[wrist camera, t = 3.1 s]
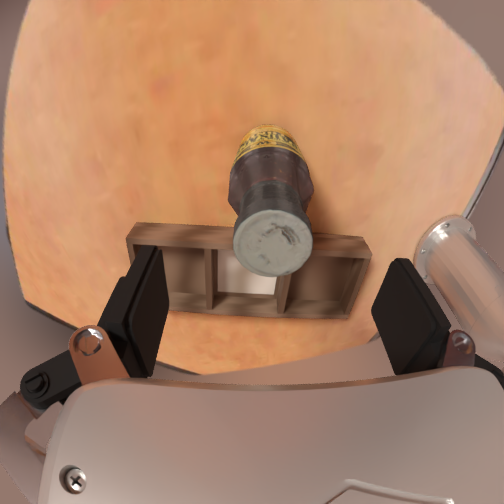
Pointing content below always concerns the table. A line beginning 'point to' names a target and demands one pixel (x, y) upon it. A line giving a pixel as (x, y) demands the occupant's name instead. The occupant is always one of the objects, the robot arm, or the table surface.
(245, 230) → the sauce bottle
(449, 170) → the table surface
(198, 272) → the walnut rack
